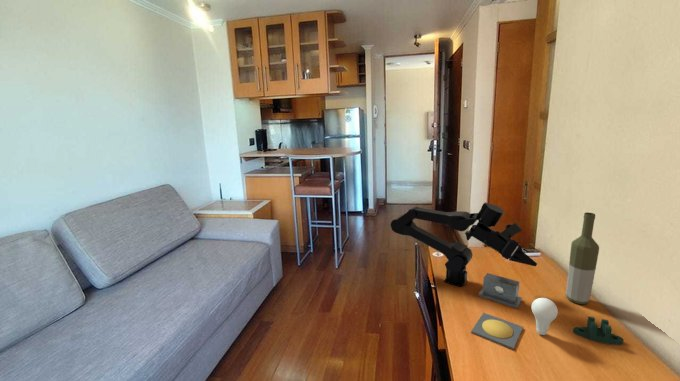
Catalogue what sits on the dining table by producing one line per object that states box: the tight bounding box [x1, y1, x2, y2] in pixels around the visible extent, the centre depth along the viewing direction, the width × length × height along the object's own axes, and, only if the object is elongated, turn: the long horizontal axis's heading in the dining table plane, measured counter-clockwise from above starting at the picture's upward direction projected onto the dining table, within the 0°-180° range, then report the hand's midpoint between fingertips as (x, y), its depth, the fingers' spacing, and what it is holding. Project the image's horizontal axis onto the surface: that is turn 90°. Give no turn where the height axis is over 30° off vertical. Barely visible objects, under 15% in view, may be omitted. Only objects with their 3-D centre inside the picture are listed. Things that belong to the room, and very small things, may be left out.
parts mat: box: [470, 312, 524, 351], centre depth 90 cm, size 11×11×1 cm
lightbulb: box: [530, 297, 559, 336], centre depth 87 cm, size 6×6×11 cm
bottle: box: [565, 211, 600, 305], centre depth 100 cm, size 7×7×30 cm
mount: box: [572, 316, 624, 346], centre depth 86 cm, size 11×4×5 cm, turn 62°
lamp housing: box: [478, 272, 523, 309], centre depth 105 cm, size 12×6×7 cm, turn 49°
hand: (534, 264), depth 100 cm, fingers open, 9 cm apart
